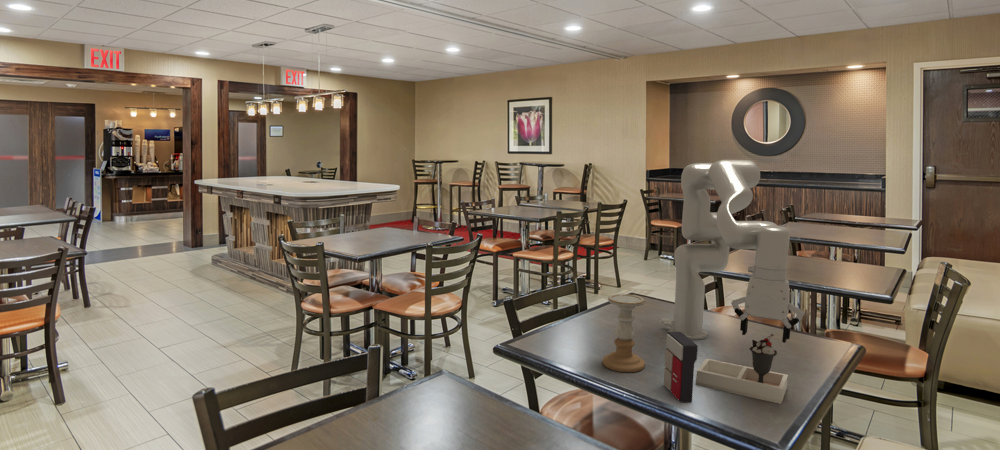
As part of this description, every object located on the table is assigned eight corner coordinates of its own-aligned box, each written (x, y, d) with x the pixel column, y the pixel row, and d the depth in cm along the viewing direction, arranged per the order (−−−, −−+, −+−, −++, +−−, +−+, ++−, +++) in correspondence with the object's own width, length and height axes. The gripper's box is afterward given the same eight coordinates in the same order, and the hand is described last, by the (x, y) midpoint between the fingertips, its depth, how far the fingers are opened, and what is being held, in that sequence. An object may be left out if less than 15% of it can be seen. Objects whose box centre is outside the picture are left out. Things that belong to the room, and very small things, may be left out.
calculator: (661, 385, 153) (664, 331, 151) (677, 384, 154) (680, 331, 152) (677, 402, 143) (681, 345, 141) (694, 402, 143) (697, 345, 141)
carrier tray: (695, 384, 154) (696, 370, 153) (705, 371, 163) (706, 358, 162) (781, 404, 143) (782, 389, 142) (786, 389, 152) (788, 374, 151)
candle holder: (594, 360, 171) (596, 295, 168) (628, 355, 176) (631, 291, 173) (618, 375, 160) (621, 305, 157) (653, 369, 164) (657, 301, 162)
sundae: (777, 393, 146) (782, 337, 144) (749, 391, 148) (754, 335, 146) (770, 383, 153) (774, 329, 151) (743, 381, 154) (747, 327, 152)
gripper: (731, 271, 148) (726, 334, 150) (806, 281, 138) (799, 348, 141) (737, 266, 154) (732, 327, 156) (809, 275, 145) (802, 340, 147)
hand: (764, 337), depth 149 cm, fingers open, 9 cm apart
